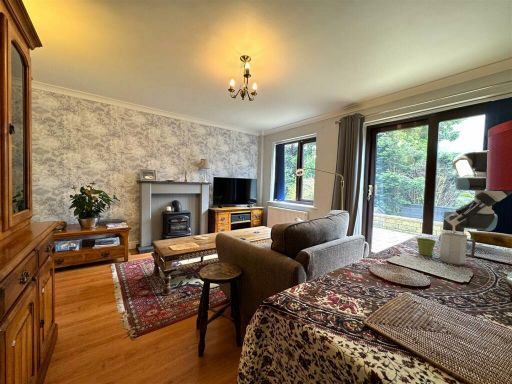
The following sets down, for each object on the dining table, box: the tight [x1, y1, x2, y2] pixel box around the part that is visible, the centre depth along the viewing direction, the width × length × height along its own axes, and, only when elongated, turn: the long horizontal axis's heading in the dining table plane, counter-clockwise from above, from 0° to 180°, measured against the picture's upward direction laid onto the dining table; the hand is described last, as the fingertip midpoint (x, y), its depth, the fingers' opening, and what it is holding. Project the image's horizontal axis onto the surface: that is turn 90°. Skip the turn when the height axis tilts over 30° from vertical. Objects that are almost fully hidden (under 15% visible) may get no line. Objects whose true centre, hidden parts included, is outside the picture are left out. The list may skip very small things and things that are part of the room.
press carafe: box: [438, 229, 476, 266], centre depth 117 cm, size 11×14×16 cm
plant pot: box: [415, 237, 437, 257], centre depth 129 cm, size 9×9×9 cm
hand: (448, 222), depth 119 cm, fingers open, 13 cm apart
